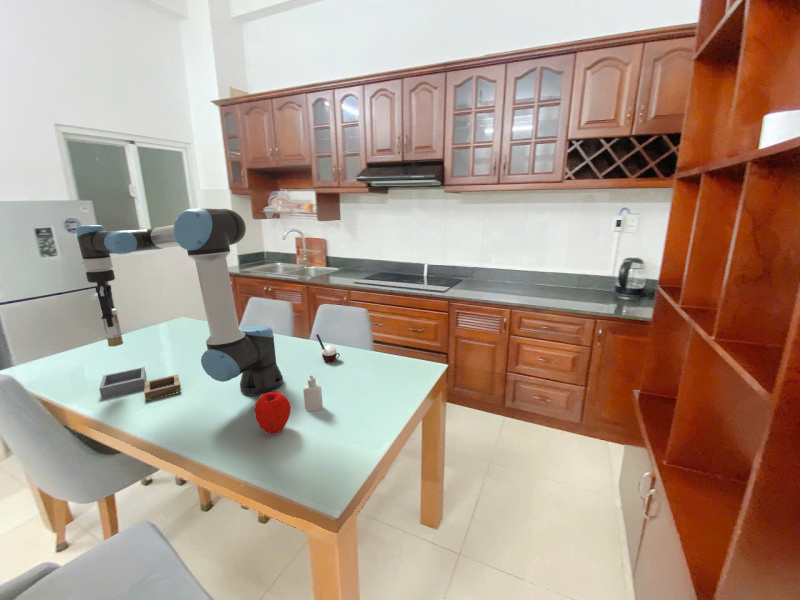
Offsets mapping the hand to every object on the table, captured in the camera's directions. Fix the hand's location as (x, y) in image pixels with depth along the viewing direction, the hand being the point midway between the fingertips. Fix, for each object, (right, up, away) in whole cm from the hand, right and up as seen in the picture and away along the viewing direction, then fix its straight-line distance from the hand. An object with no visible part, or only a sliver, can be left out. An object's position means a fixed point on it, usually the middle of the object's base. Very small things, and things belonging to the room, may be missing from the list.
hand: (113, 332), depth 130 cm
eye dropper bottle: (+77, -24, -13) cm, 82 cm away
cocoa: (+74, -15, +26) cm, 80 cm away
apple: (+68, -27, -24) cm, 77 cm away
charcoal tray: (0, -21, +5) cm, 21 cm away
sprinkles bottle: (0, -5, +1) cm, 5 cm away
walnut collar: (+18, -22, +1) cm, 28 cm away
